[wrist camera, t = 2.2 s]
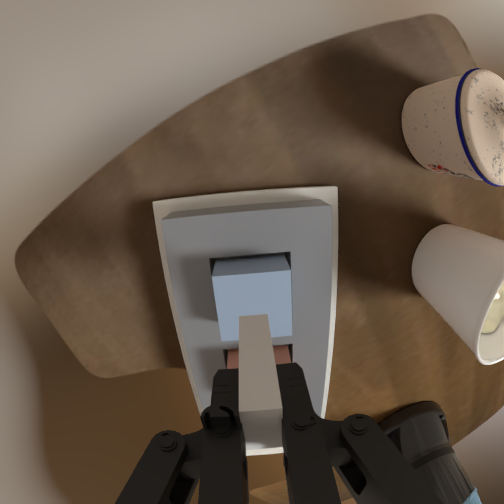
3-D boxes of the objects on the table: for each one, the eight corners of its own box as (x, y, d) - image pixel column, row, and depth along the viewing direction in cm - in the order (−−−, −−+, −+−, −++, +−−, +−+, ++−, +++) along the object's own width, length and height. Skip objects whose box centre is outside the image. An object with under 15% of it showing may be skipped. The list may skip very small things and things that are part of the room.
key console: (321, 425, 32) (327, 447, 28) (208, 434, 32) (206, 457, 28) (334, 185, 23) (351, 190, 19) (155, 200, 23) (139, 208, 19)
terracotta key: (287, 385, 25) (291, 407, 22) (234, 389, 25) (234, 412, 22) (287, 344, 23) (292, 366, 21) (228, 349, 23) (226, 372, 20)
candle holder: (462, 296, 27) (525, 348, 16) (398, 309, 27) (460, 379, 15) (475, 215, 24) (555, 247, 13) (409, 216, 24) (498, 257, 12)
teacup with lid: (414, 186, 23) (505, 211, 12) (383, 93, 20) (468, 62, 9) (487, 157, 22) (566, 169, 11) (464, 78, 19) (541, 63, 8)
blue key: (286, 314, 22) (292, 335, 20) (223, 319, 22) (221, 341, 20) (284, 255, 21) (290, 270, 18) (215, 260, 21) (211, 276, 18)
